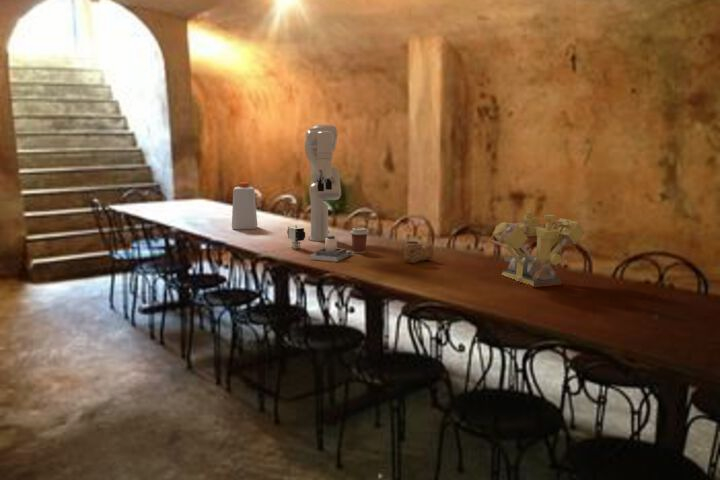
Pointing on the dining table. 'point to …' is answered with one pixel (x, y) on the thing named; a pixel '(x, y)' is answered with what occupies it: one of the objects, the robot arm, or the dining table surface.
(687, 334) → the dining table surface
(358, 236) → the coffee cup
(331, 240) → the pump
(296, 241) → the pneumatic valve
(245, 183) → the plastic bottle
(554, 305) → the dining table surface
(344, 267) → the dining table surface
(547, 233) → the mechanical engine
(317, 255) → the motor base
